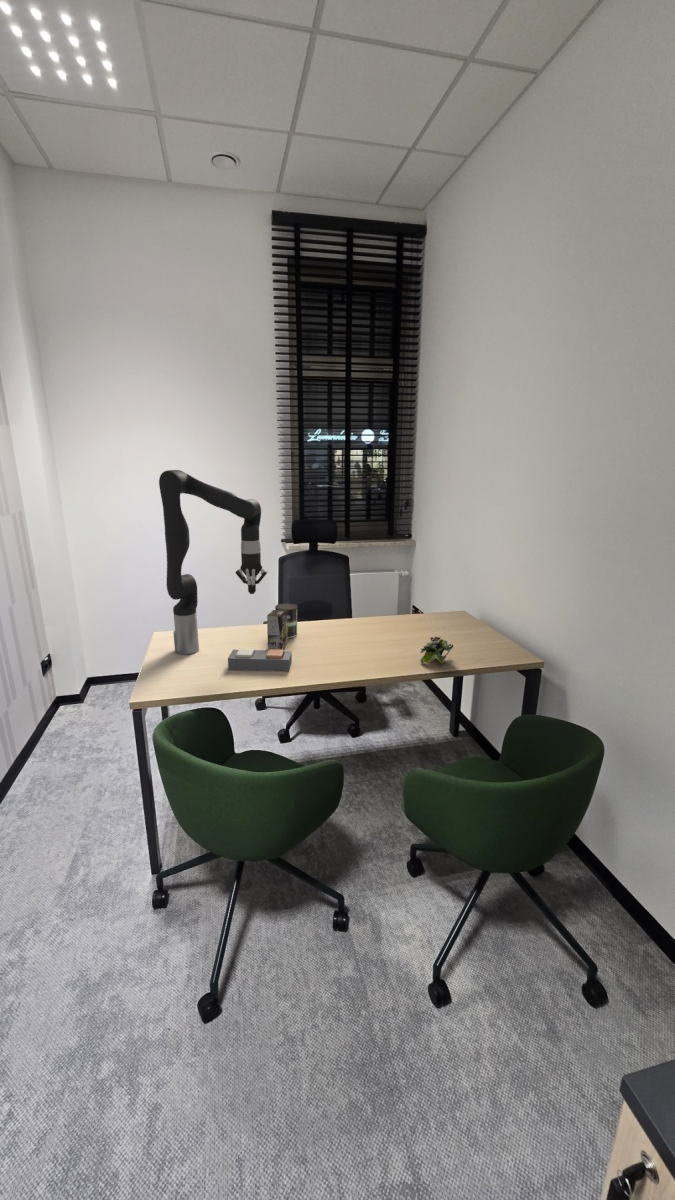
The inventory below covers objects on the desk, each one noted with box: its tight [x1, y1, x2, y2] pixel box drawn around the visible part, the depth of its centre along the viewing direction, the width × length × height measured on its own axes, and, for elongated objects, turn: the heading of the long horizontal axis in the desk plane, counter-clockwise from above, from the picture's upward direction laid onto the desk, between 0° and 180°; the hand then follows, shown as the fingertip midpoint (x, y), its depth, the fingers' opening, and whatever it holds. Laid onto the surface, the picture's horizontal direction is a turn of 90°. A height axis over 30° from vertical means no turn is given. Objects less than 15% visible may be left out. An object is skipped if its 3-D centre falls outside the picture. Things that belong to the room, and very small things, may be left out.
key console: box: [227, 649, 293, 672], centre depth 193 cm, size 24×9×5 cm, turn 89°
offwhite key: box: [236, 648, 255, 658], centre depth 193 cm, size 6×6×3 cm
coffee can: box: [274, 602, 298, 639], centre depth 226 cm, size 10×10×14 cm
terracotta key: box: [267, 649, 285, 659], centre depth 193 cm, size 6×6×3 cm
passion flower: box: [420, 636, 454, 666], centre depth 199 cm, size 13×12×14 cm
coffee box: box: [266, 609, 288, 650], centre depth 211 cm, size 9×6×16 cm
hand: (252, 593), depth 194 cm, fingers closed
